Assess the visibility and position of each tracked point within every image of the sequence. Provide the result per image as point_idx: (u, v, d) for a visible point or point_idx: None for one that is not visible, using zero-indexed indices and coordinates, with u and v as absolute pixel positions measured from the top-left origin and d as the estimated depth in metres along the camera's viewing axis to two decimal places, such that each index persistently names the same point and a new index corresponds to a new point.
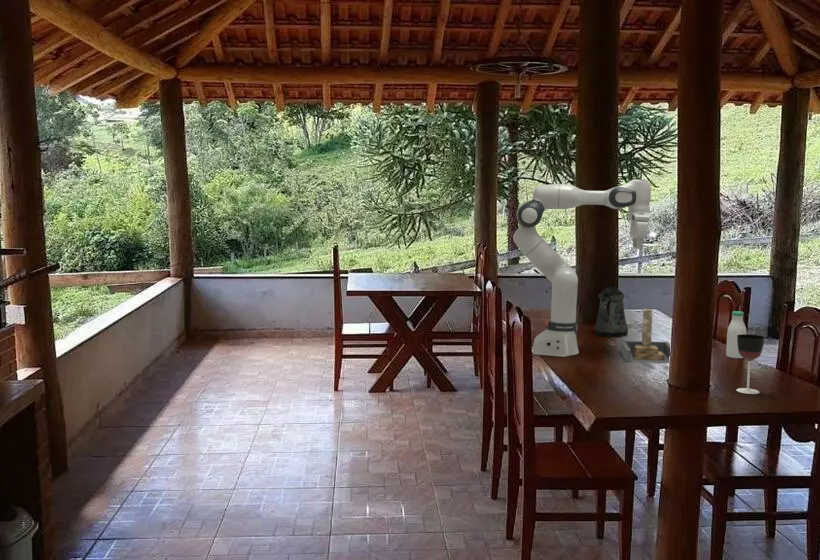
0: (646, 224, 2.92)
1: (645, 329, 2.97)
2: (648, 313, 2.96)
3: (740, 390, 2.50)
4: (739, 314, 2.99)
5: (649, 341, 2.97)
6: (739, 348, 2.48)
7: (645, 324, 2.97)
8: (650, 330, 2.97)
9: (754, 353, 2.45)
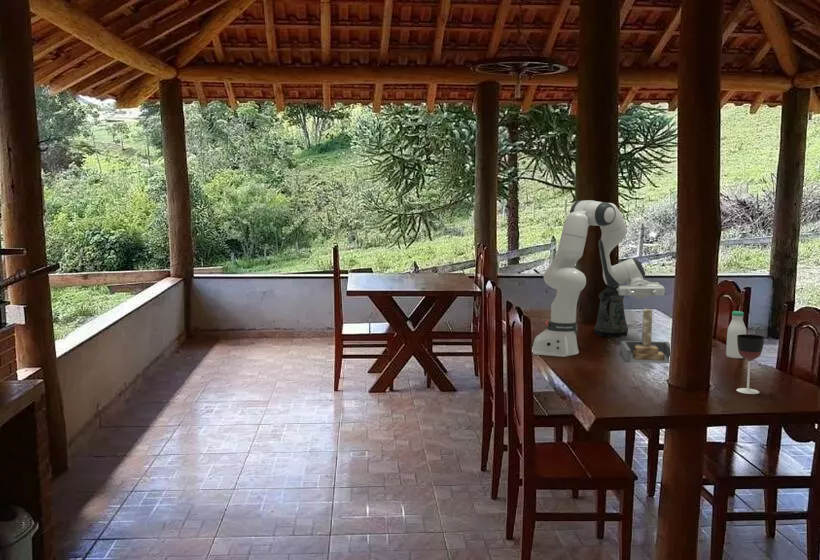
0: None
1: (645, 329, 2.97)
2: (648, 313, 2.96)
3: (740, 390, 2.50)
4: (739, 314, 2.99)
5: (649, 341, 2.97)
6: (739, 348, 2.48)
7: (645, 324, 2.97)
8: (650, 330, 2.97)
9: (754, 353, 2.45)
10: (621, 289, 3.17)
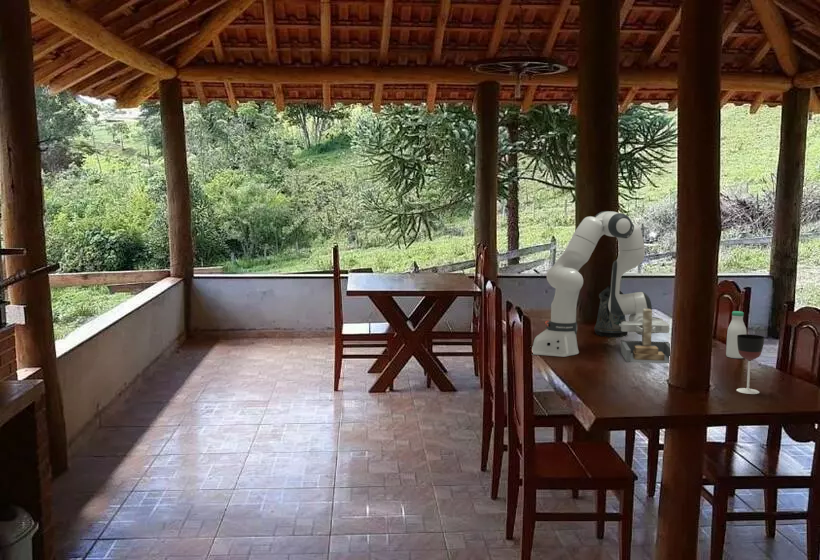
0: None
1: (645, 329, 2.97)
2: (647, 313, 2.96)
3: (740, 390, 2.50)
4: (739, 314, 2.99)
5: (649, 341, 2.97)
6: (739, 348, 2.48)
7: (645, 324, 2.97)
8: (650, 330, 2.97)
9: (754, 353, 2.45)
10: (624, 325, 3.05)
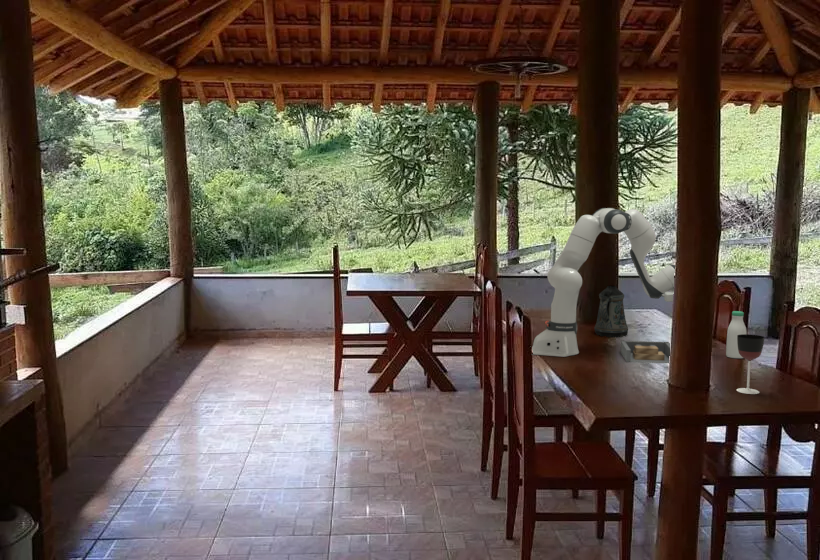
0: None
1: None
2: None
3: (740, 390, 2.50)
4: (739, 314, 2.99)
5: None
6: (739, 348, 2.48)
7: None
8: None
9: (754, 353, 2.45)
10: (668, 295, 3.00)
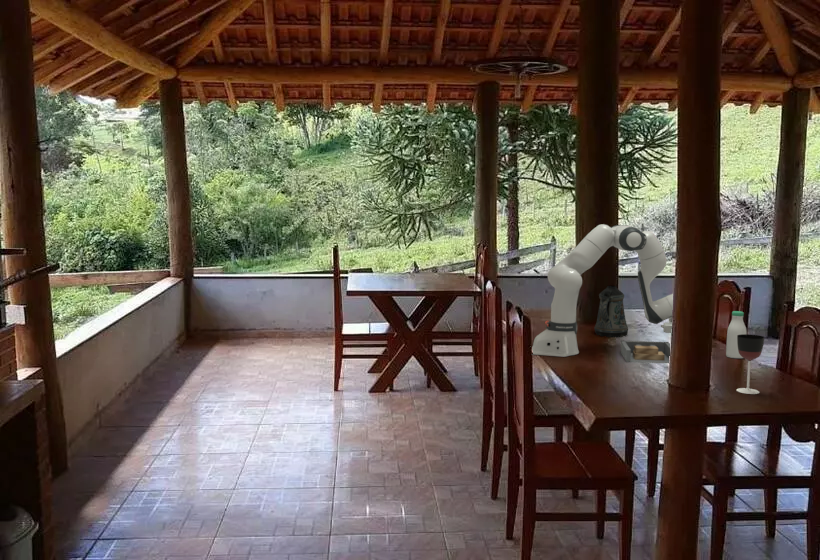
0: None
1: None
2: None
3: (740, 390, 2.50)
4: (739, 314, 2.99)
5: None
6: (739, 348, 2.48)
7: None
8: None
9: (754, 353, 2.45)
10: (667, 326, 3.02)
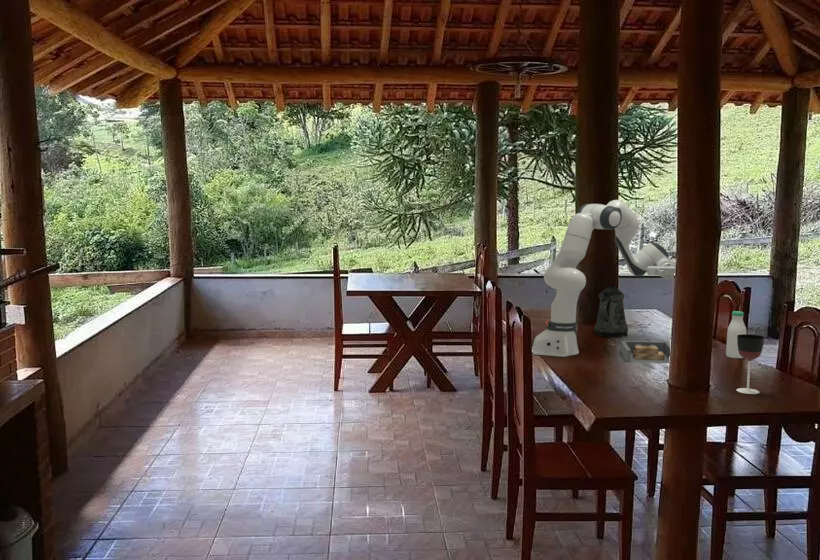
0: None
1: None
2: None
3: (740, 390, 2.50)
4: (739, 314, 2.99)
5: None
6: (739, 348, 2.48)
7: None
8: None
9: (754, 353, 2.45)
10: (650, 268, 3.16)
